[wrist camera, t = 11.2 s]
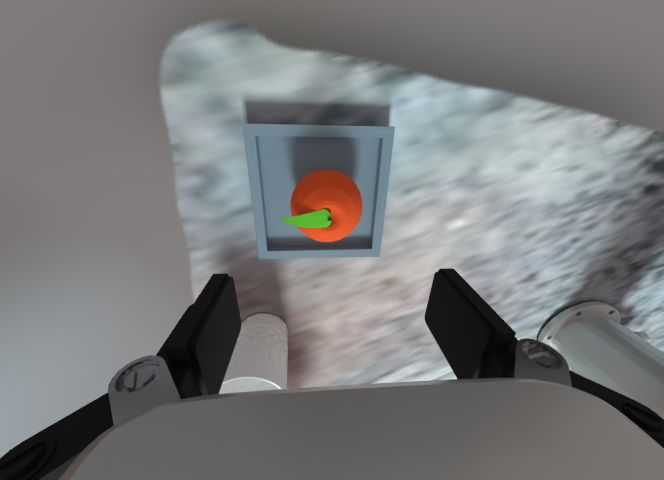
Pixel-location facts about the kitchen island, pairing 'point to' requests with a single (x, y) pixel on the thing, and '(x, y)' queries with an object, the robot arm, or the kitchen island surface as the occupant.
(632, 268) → the kitchen island surface
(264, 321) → the white cup
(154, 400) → the robot arm
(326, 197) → the clementine
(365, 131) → the dish
